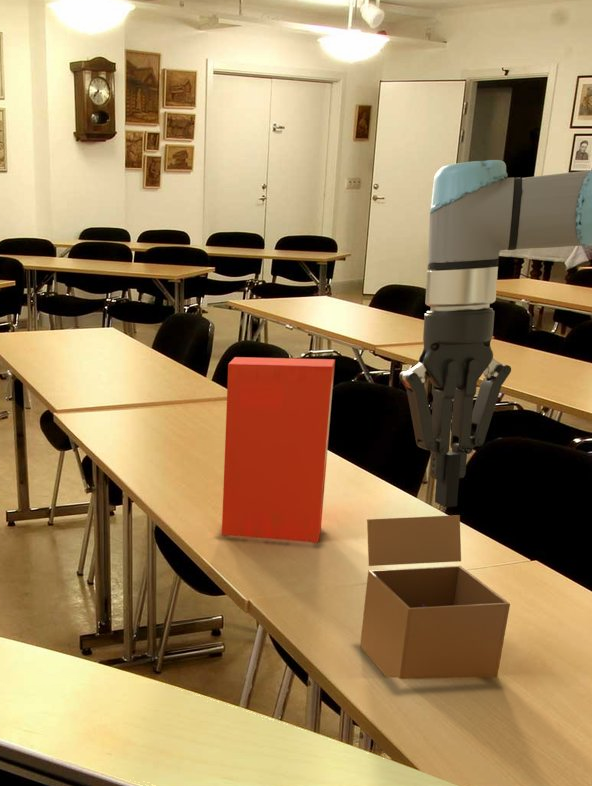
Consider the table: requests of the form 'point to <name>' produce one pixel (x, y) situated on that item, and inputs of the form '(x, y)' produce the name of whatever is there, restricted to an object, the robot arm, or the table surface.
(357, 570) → the table surface
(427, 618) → the carton
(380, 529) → the flap
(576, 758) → the table surface
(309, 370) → the red rectangular block
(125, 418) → the table surface
